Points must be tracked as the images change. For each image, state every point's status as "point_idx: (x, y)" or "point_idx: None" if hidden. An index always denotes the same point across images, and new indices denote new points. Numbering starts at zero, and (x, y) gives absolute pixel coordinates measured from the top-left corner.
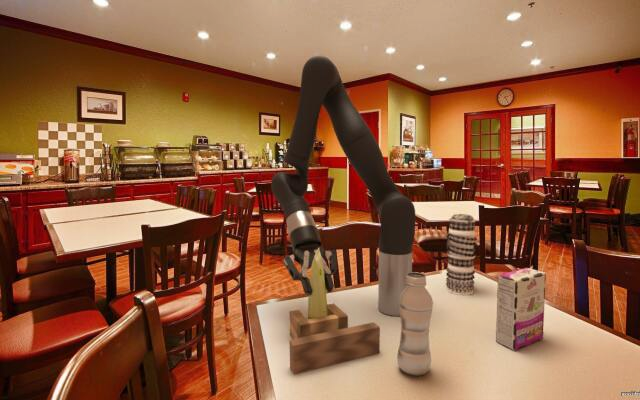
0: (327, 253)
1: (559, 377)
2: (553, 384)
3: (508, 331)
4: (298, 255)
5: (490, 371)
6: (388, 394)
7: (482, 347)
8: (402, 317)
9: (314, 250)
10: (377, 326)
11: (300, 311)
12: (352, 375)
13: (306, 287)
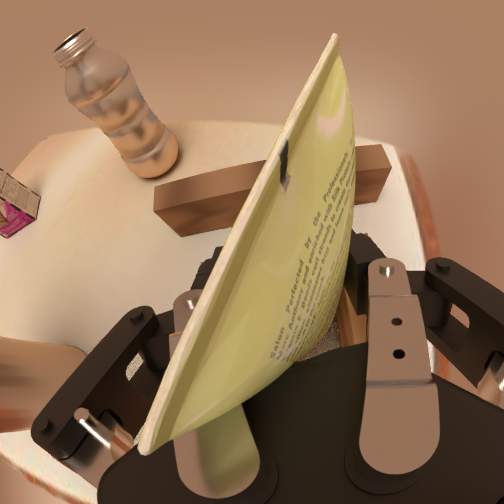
0: (99, 460)
1: (55, 152)
2: (67, 142)
3: (24, 193)
4: (482, 415)
5: (86, 159)
6: (225, 121)
7: (53, 209)
8: (135, 88)
9: (247, 487)
10: (157, 189)
11: (354, 336)
12: (260, 159)
13: (363, 242)
